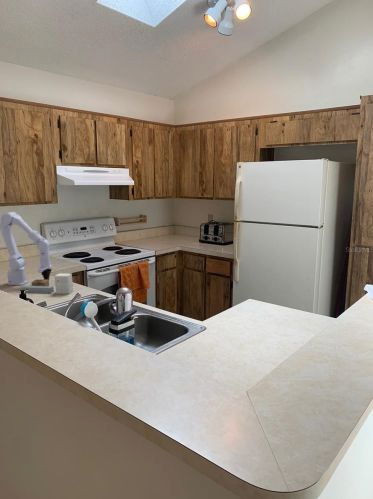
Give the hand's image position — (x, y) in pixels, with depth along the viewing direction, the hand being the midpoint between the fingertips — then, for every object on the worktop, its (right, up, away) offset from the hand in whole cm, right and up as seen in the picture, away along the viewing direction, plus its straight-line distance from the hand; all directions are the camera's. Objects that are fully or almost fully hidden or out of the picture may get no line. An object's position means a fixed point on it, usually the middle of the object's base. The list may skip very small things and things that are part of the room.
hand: (46, 281), depth 234 cm
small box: (+17, -5, -18) cm, 25 cm away
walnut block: (-1, -3, -7) cm, 8 cm away
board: (+1, -5, -17) cm, 18 cm away
